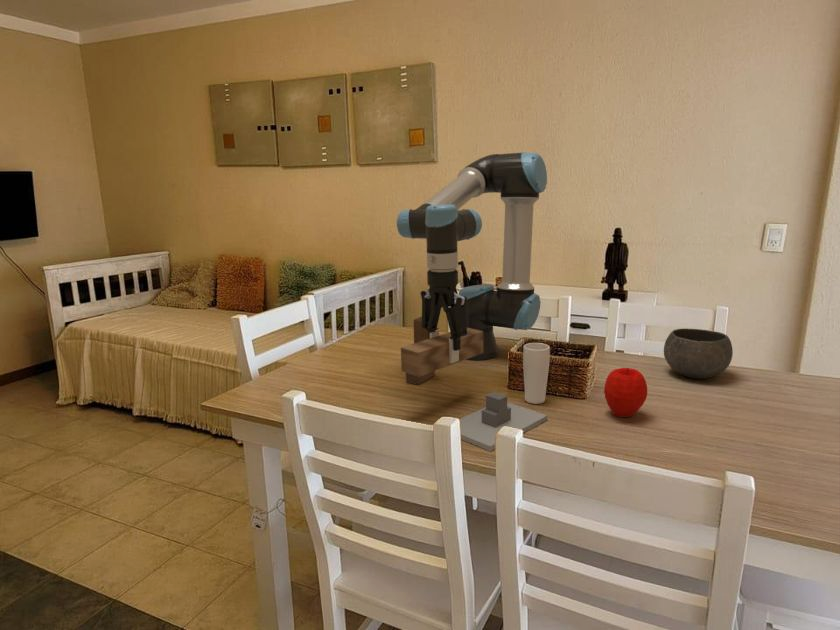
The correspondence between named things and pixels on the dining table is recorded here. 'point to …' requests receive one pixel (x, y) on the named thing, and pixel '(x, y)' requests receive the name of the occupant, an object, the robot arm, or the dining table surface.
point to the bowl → (698, 352)
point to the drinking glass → (535, 371)
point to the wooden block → (419, 336)
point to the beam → (438, 352)
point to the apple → (625, 391)
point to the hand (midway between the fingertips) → (444, 358)
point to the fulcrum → (497, 420)
